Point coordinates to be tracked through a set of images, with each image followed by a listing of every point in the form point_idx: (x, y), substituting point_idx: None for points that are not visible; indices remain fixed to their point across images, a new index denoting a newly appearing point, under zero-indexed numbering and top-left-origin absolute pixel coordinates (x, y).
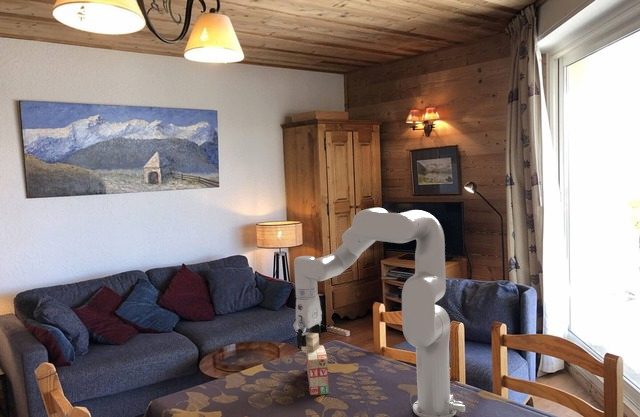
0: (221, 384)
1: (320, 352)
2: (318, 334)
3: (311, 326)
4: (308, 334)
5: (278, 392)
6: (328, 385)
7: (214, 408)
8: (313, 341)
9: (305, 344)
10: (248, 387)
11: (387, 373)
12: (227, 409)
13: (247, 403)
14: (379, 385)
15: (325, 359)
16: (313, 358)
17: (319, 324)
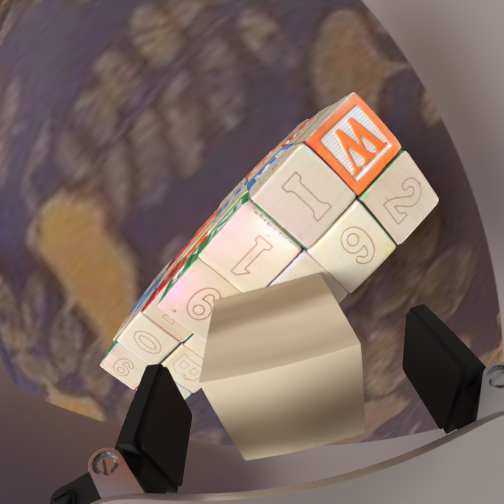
0: (394, 421)
1: (297, 216)
2: (204, 374)
3: (468, 437)
4: (290, 428)
5: (387, 290)
6: (307, 119)
7: (492, 333)
8: (330, 319)
9: (431, 312)
10: (390, 376)
11: (31, 87)
12: (492, 309)
13: (465, 301)
14: (122, 27)
15: (363, 103)
16: (411, 184)
17: (114, 465)
